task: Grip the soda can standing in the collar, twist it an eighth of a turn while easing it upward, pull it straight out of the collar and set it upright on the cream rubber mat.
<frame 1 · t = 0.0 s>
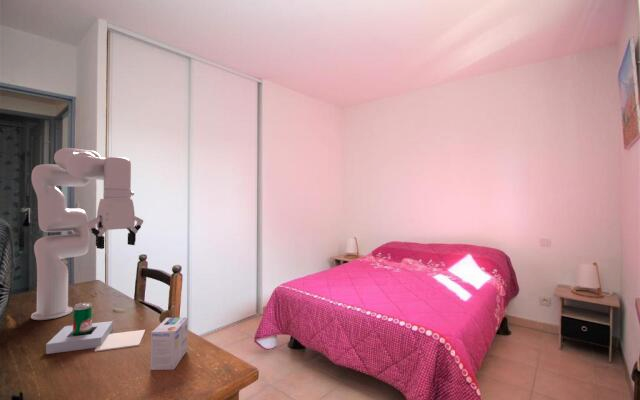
hand: (116, 246, 103), 31 cm above the table, tool pointing down, fingers open, 9 cm apart
collar: (82, 340, 103), on the table
snail figurine: (167, 341, 104), on the table
light bulb box: (169, 361, 91), on the table
mat: (121, 340, 103), on the table
soda can: (82, 341, 103), resting in collar
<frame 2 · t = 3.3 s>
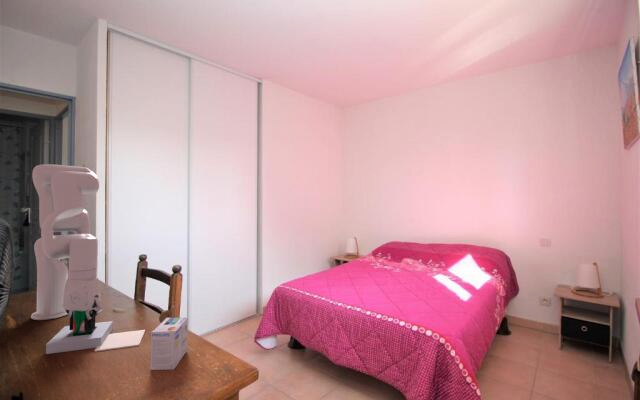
hand: (82, 328, 103), 4 cm above the table, tool pointing down, fingers closed on soda can, 5 cm apart
soda can: (82, 341, 103), resting in collar, touching gripper
everything else where it was.
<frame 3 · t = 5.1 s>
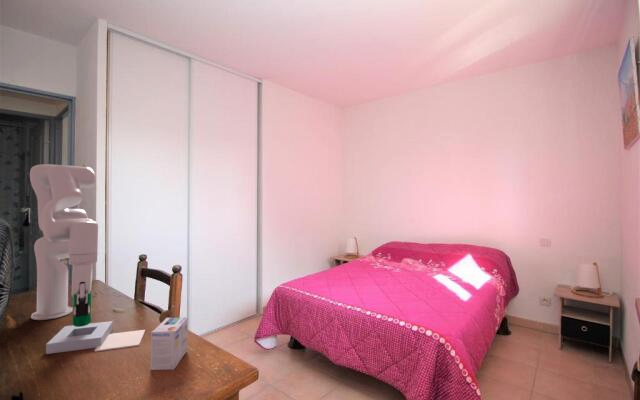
hand: (82, 312, 103), 9 cm above the table, tool pointing down, fingers closed on soda can, 5 cm apart
soda can: (81, 324, 103), point 5 cm above the table, touching gripper
everything else where it was.
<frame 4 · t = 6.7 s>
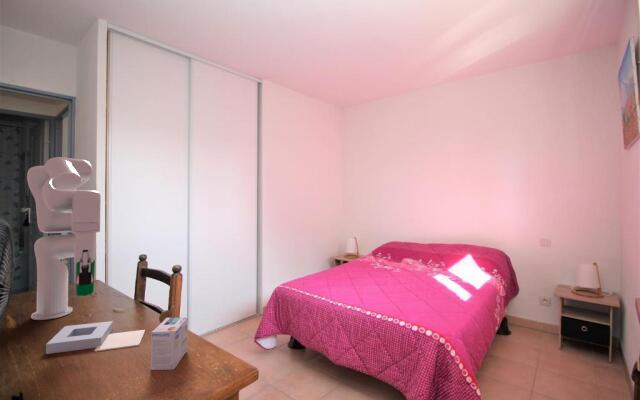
hand: (85, 282, 103), 19 cm above the table, tool pointing down, fingers closed on soda can, 5 cm apart
soda can: (85, 294, 103), point 15 cm above the table, touching gripper
everything else where it was.
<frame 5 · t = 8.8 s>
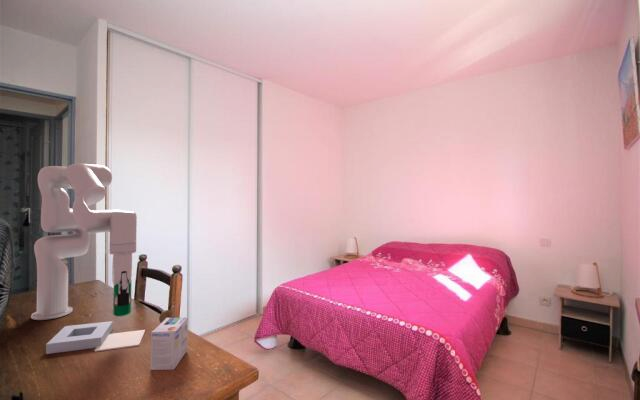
hand: (122, 302, 103), 13 cm above the table, tool pointing down, fingers closed on soda can, 5 cm apart
soda can: (122, 314, 103), point 8 cm above the table, touching gripper
everything else where it was.
when the fingers open (5 cm above the table, at t = 10.5 s): soda can stays where it is, resting on mat.
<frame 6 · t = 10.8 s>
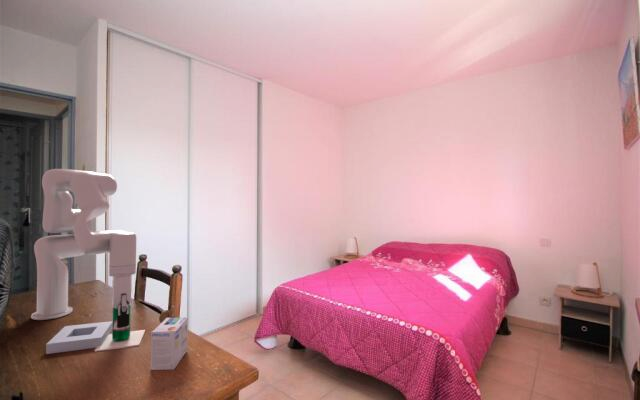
hand: (122, 322, 103), 6 cm above the table, tool pointing down, fingers open, 8 cm apart
soda can: (121, 339, 103), resting on mat
everything else where it was.
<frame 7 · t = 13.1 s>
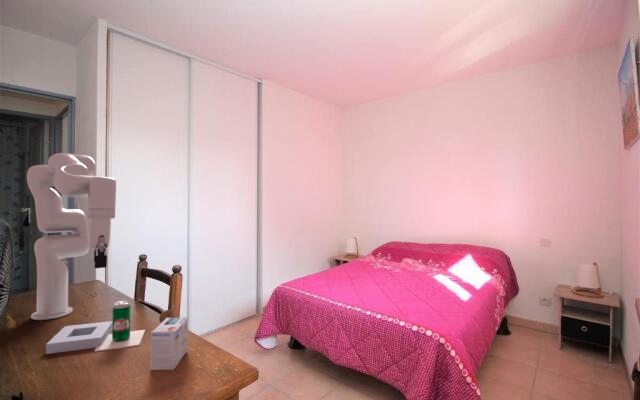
hand: (100, 264, 105), 25 cm above the table, tool pointing down, fingers open, 9 cm apart
nothing on the table moved.
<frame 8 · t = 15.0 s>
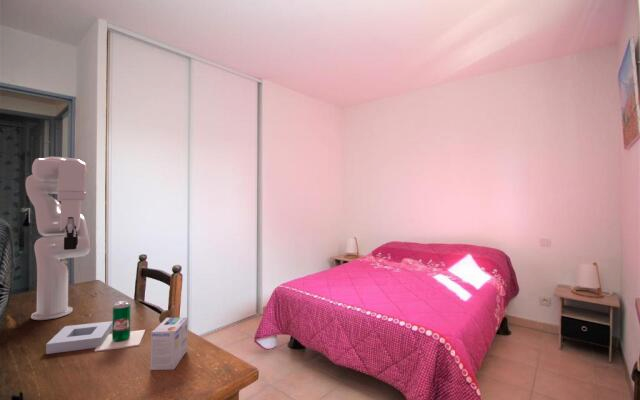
hand: (71, 247, 106), 30 cm above the table, tool pointing down, fingers open, 9 cm apart
nothing on the table moved.
at the end: soda can inside the target area on the mat (0.3 cm from its centre), point 0.2 cm above the mat's base; soda can tilted 0°; the gripper is holding nothing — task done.
